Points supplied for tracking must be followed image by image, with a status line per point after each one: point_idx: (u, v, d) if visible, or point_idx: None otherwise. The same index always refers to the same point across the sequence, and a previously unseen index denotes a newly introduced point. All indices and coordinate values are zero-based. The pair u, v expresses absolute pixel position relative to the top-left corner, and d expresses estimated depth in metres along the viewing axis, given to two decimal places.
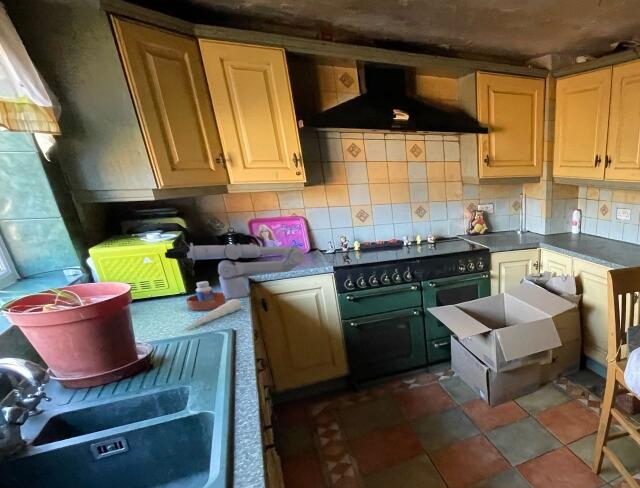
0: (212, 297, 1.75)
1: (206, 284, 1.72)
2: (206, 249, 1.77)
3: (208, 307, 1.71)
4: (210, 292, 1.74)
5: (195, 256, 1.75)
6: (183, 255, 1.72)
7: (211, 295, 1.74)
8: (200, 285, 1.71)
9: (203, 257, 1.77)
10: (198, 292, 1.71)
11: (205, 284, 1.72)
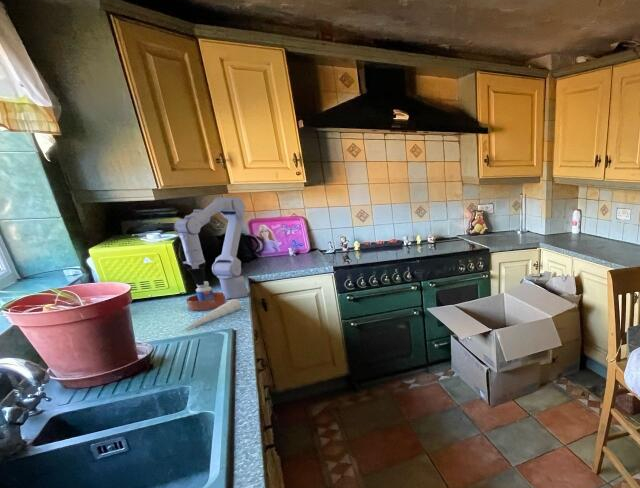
0: (212, 297, 1.75)
1: (206, 284, 1.72)
2: (187, 250, 1.65)
3: (208, 307, 1.71)
4: (210, 292, 1.74)
5: (198, 260, 1.67)
6: (198, 270, 1.67)
7: (211, 295, 1.74)
8: (200, 285, 1.71)
9: (198, 253, 1.67)
10: (198, 292, 1.71)
11: (205, 284, 1.72)
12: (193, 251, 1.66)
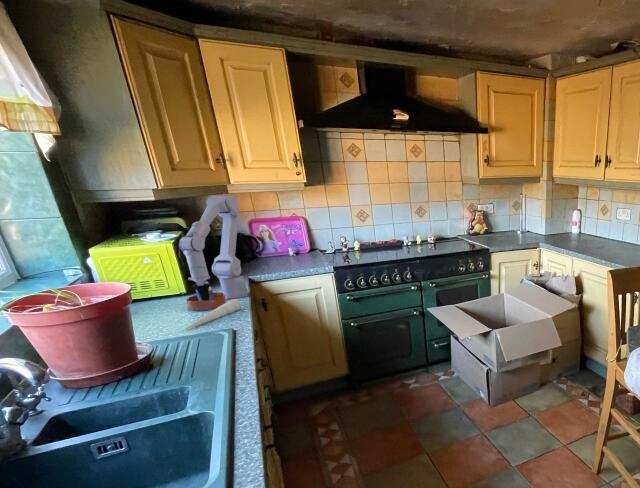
0: (212, 297, 1.75)
1: None
2: (192, 267, 1.67)
3: (208, 307, 1.71)
4: (210, 292, 1.74)
5: (203, 276, 1.70)
6: (203, 286, 1.70)
7: (211, 295, 1.74)
8: None
9: (203, 270, 1.70)
10: None
11: None
12: (198, 268, 1.68)
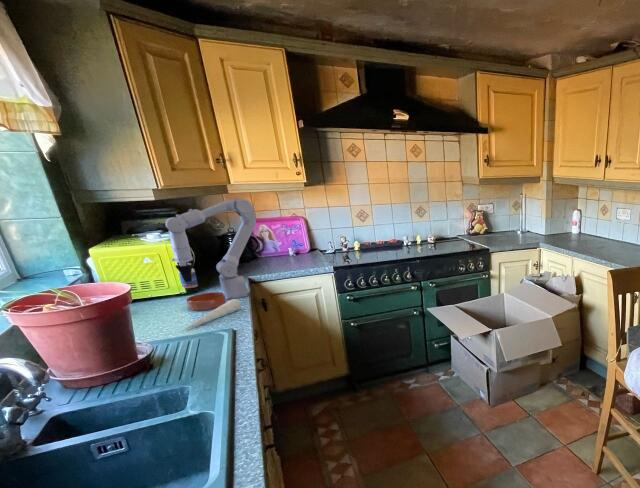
0: (194, 279, 1.77)
1: None
2: (175, 248, 1.69)
3: (208, 307, 1.71)
4: (193, 274, 1.75)
5: (186, 258, 1.72)
6: (185, 267, 1.72)
7: (194, 277, 1.76)
8: None
9: (186, 251, 1.72)
10: (180, 273, 1.73)
11: None
12: (181, 249, 1.70)
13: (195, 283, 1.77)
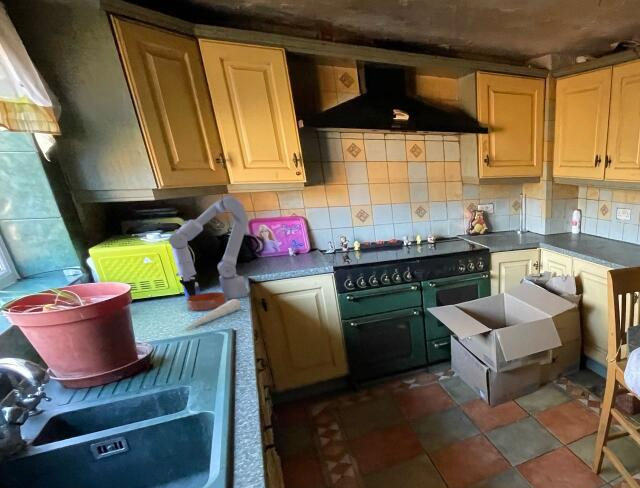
0: (198, 292, 1.80)
1: None
2: (178, 263, 1.73)
3: (208, 307, 1.71)
4: (196, 287, 1.79)
5: (189, 272, 1.75)
6: (189, 282, 1.75)
7: (197, 290, 1.79)
8: None
9: (189, 265, 1.75)
10: (184, 287, 1.76)
11: None
12: (184, 264, 1.73)
13: None
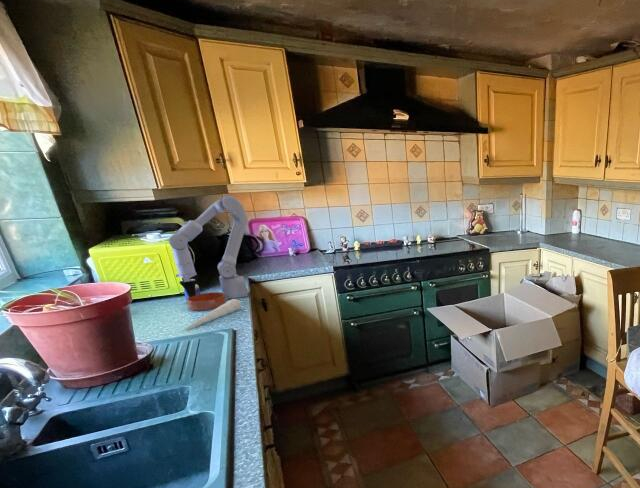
0: None
1: None
2: (179, 264, 1.73)
3: (208, 307, 1.71)
4: (197, 290, 1.79)
5: (190, 273, 1.75)
6: (189, 283, 1.75)
7: (198, 292, 1.80)
8: None
9: (190, 266, 1.75)
10: (185, 290, 1.77)
11: None
12: (184, 265, 1.73)
13: None
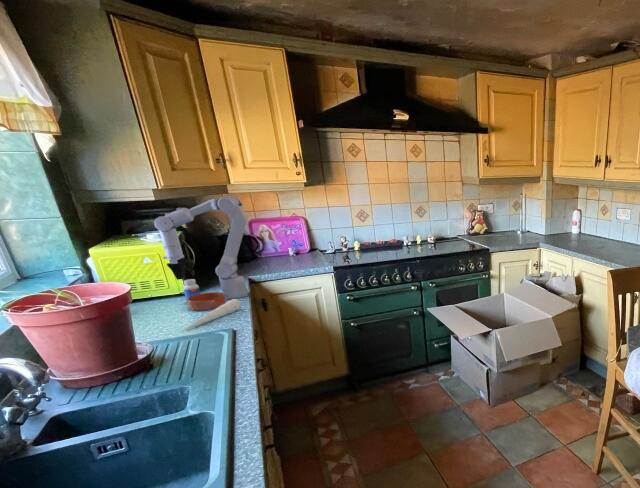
0: None
1: (193, 282, 1.78)
2: (166, 246, 1.73)
3: (208, 307, 1.71)
4: (197, 290, 1.79)
5: (177, 255, 1.75)
6: (177, 265, 1.75)
7: (198, 292, 1.80)
8: (187, 283, 1.76)
9: (177, 249, 1.75)
10: (185, 289, 1.77)
11: (192, 282, 1.77)
12: (172, 247, 1.73)
13: None
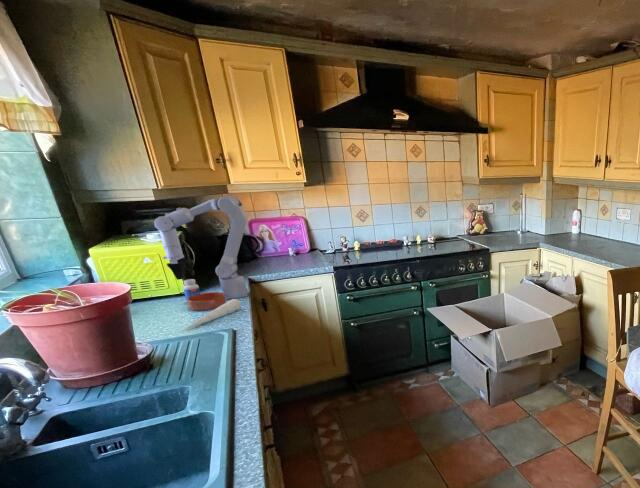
0: None
1: (193, 282, 1.78)
2: (166, 246, 1.73)
3: (208, 307, 1.71)
4: (197, 290, 1.79)
5: (177, 255, 1.75)
6: (177, 265, 1.75)
7: (198, 292, 1.80)
8: (187, 283, 1.76)
9: (177, 249, 1.75)
10: (185, 290, 1.77)
11: (192, 282, 1.77)
12: (172, 247, 1.73)
13: None
